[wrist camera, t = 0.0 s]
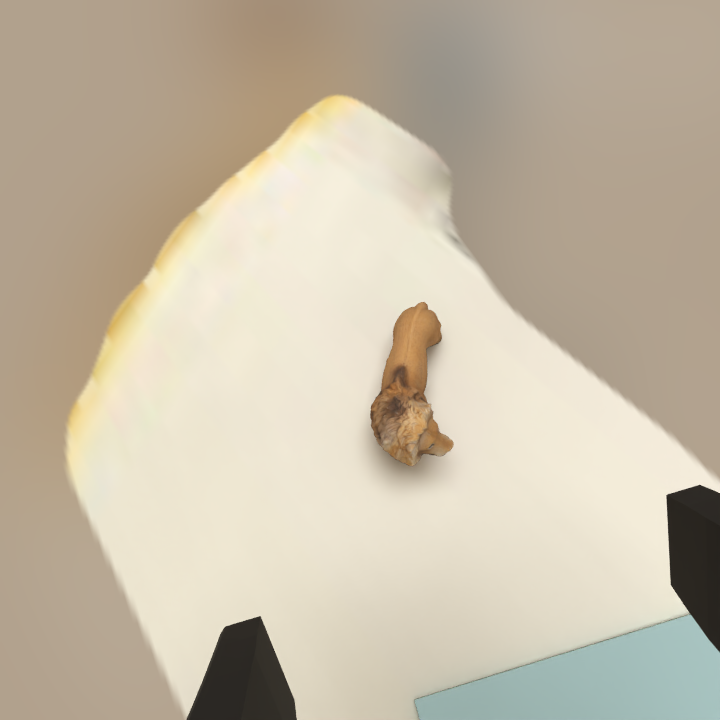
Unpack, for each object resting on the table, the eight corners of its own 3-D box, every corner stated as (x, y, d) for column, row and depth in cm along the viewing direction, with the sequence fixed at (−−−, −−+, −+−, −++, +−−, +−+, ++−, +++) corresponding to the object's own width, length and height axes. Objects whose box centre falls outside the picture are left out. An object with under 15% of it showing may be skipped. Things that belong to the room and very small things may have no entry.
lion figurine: (449, 489, 44) (456, 451, 36) (374, 489, 44) (365, 451, 36) (441, 311, 50) (446, 244, 42) (376, 312, 51) (369, 247, 43)
